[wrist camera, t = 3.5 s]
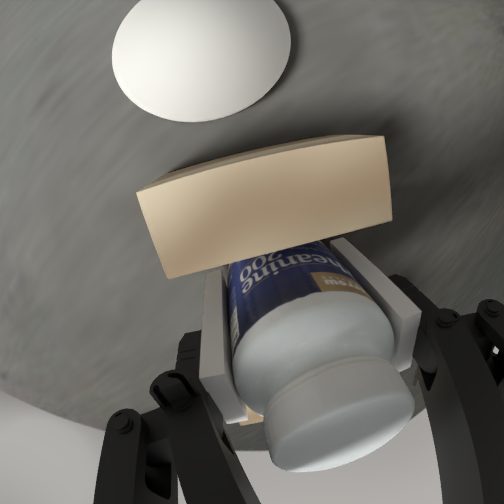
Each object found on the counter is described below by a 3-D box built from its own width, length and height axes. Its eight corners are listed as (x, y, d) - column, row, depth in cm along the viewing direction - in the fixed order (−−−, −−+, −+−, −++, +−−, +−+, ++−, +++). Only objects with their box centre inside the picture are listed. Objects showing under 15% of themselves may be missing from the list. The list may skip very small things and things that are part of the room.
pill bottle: (327, 216, 13) (467, 340, 4) (325, 305, 15) (404, 447, 7) (218, 229, 13) (221, 410, 4) (233, 320, 15) (252, 489, 6)
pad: (108, 11, 8) (103, 6, 7) (264, -29, 8) (266, -34, 7) (134, 145, 11) (131, 146, 10) (305, 102, 11) (309, 100, 10)
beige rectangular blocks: (165, 174, 12) (136, 192, 8) (332, 134, 12) (383, 135, 8) (235, 368, 17) (240, 425, 13) (352, 336, 17) (381, 384, 13)
